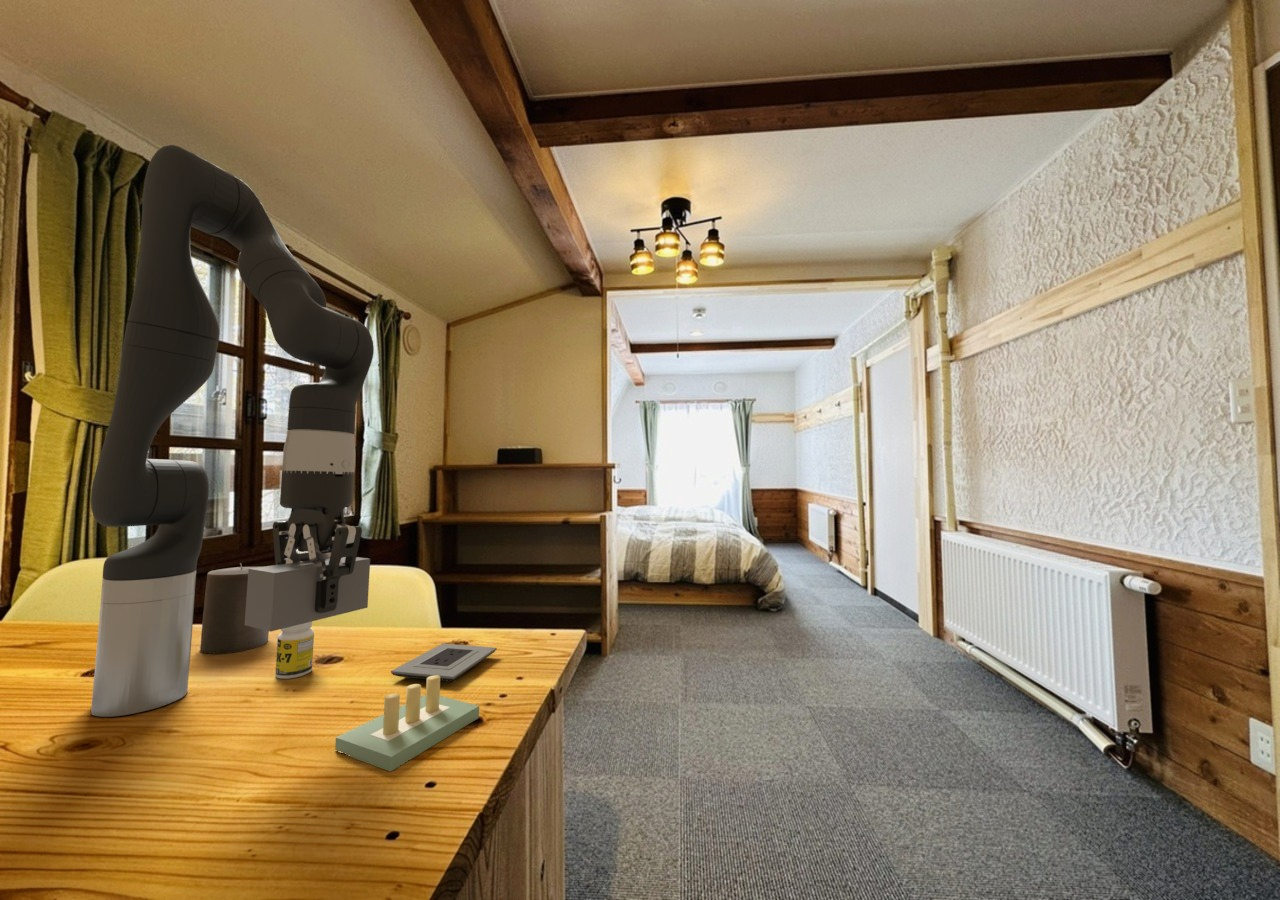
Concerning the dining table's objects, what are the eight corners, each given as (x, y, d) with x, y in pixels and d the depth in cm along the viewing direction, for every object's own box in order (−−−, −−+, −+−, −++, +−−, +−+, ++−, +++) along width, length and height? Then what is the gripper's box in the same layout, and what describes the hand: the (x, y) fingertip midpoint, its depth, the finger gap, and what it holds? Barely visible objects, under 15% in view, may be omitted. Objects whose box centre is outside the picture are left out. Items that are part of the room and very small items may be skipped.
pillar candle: (211, 658, 83) (218, 569, 84) (192, 647, 88) (199, 563, 89) (277, 643, 91) (283, 562, 92) (256, 634, 96) (262, 557, 97)
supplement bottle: (268, 676, 75) (271, 621, 76) (299, 666, 80) (302, 614, 80) (288, 681, 73) (291, 625, 74) (319, 670, 78) (321, 617, 78)
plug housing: (244, 625, 55) (248, 568, 55) (342, 603, 65) (345, 555, 66) (270, 631, 53) (274, 572, 53) (367, 607, 63) (370, 558, 63)
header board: (335, 751, 55) (337, 701, 55) (428, 704, 66) (429, 662, 67) (390, 771, 51) (392, 717, 51) (478, 717, 63) (480, 674, 63)
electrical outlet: (452, 691, 72) (453, 674, 72) (390, 684, 74) (391, 668, 74) (496, 660, 84) (496, 646, 85) (441, 655, 87) (442, 641, 87)
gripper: (251, 467, 60) (241, 608, 58) (326, 468, 54) (316, 624, 53) (314, 469, 66) (306, 595, 65) (386, 470, 60) (379, 609, 59)
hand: (311, 607), depth 59 cm, fingers closed on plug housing, 5 cm apart
